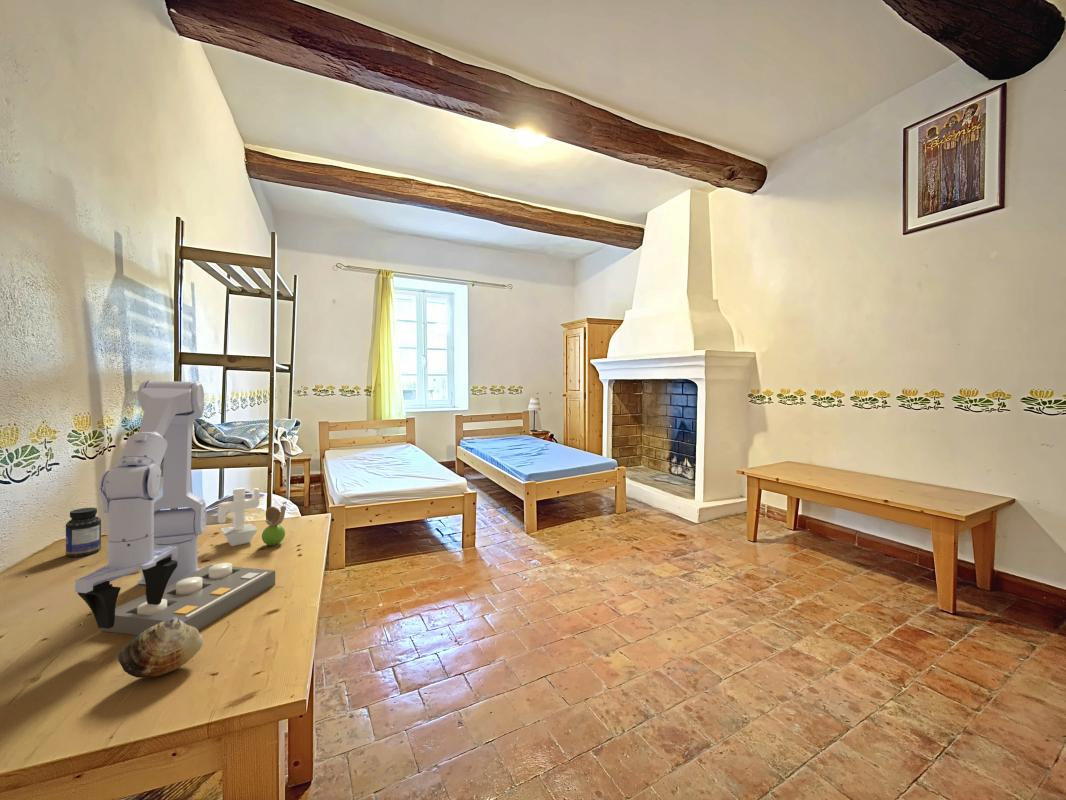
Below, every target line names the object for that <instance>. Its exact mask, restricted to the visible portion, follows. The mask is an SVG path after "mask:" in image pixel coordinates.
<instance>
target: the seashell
mask: <svg viewBox="0 0 1066 800" xmlns="http://www.w3.org/2000/svg"><path fill="white" fill-rule="evenodd" d="M199 631H200V630H197V629H196V628H195V627H192V626H189V625H187V624H185V623H184V622H182V621H181V620H180V619H178V618H177V617H173V618H169V619H167V620H165V621H163V622H161V623H158V624H156V625H154V626H152V627H150V628H148V629H147V630H145V631H144V632H142V633H141V634H139V635H136V637H135V638H134V639H133V640H132V641H131V642H129V643H128V644H127V645H126V646H125V647H124V648H122V649H121V650H120V651H119V653H118V655H117V660H118V662H119V664H120V666H121V668H122V670H123V671H124V672H125V673H126V674H127V675H129V676H131V677H133V678H139V679H140V678H155V677H161V676H164V675H167V674H169V673H171V672H174V671H175V670H177V669H178V668H181V667H182V666H184V665H185V664H187V663H188V662H189V661H190V660H191V659H192V658H194V657H195V656H196V655H197V653H199V651H200V650H201V648H202V647H203V646H204V638H203V636H202V634H201V633H200V632H199Z"/></svg>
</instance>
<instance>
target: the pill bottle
mask: <svg viewBox="0 0 1066 800" xmlns="http://www.w3.org/2000/svg"><path fill="white" fill-rule="evenodd" d="M97 514H98V508H97V507H84V508H77V509H73V510H71V511H69V518H71V519H70V520H68V521H67V522H66V524H65V556H66V557H68V558H78V557H85V556H90V555H94V554H95V553H98V552H99V551H100V550H101V549H102V519H101V518H100V517H99V516H97Z"/></svg>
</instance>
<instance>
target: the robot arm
mask: <svg viewBox="0 0 1066 800" xmlns="http://www.w3.org/2000/svg"><path fill="white" fill-rule="evenodd" d="M137 400H138V404H139V406H140V408H141V410H142V412H143V415H142V419H141V422H140V426H139V430H138V432H137V433H134V434H132V435H130V436H129V437H128V438H127V439H126V442H125V444H124V445H123V449H122V450H121V452H120V455H119V458H118V459H117V462H116V464H115V466H114V467H112V468H111V469H110V470H106V471H105V472H104V473H103V474H102V477H101V479H100V483H99V496H100V499H101V501H102V504H103V509H102V511H103V512H104V514H107V564H106V565H104V566H102V567H100V568H98V569H96V570H94V571H92V572H90V573H88V574H86V575H84V576H82V577H80V578H77V579H75V580H74V585H75V586H74V589H75V591H74V593H77V595H78V596H79V597H80V598H81V599H82V600H83V601H84V602H85V603H86V605H87V606H88V607H89V609H90V610H91V612H92V615H93V617H94V619H95V621H96V624H97V626H98V629H102V628H105V629H109V628H111V627H113V626H114V622H115V608H116V607H117V606H116V605H117V600H118V596H119V593H120V592H121V587H120V586H113V584H112V583H111V582H113V581H117V579H121V578H124V577H126V576H128V575H130V574H133V573H136V572H139V571H141V579H140V580H138V581H137V582H136V583H137V584H139V585H145V594H146V599H147V604H154V605H158V604H160V603H161V600H162V597H163V594H164V591H165V588H166V585H167V584H169V583H171V582H174V581H176V580H178V579H180V578H182V577H185V576H187V575H189V574H191V573H194V572H196V571H198V570H200V569H201V568H198V536H200V535H202V534H203V533H204V532H205V531H206V528H207V522H208V513H207V509H206V505H207V504H206V501H205V500H204V499H203V498H202V497H200V496H198V495H196V494H194V493H193V492H191V480H192V478H191V476H192V443H193V426H194V423H195V420H199V419H201V418H203V414H204V411H205V409H204V407H205V392H204V387H203V385H202V384H201V383H200V381H198V380H197V381H196V380H195V381H172V380H171V381H170V380H167V381H166V380H150V379H149V380H148V379H145V380H143V382H141V383H140V385H139V386H138V391H137ZM162 462H163V473H162V468H161V464H162ZM161 475H162V476H163V477H162V476H161ZM161 477H162V496H161V497H158V499H156V500H155V498H156V497H157V496H158V493H159V490H160V488H161V487H160V486H161Z"/></svg>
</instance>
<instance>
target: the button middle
mask: <svg viewBox="0 0 1066 800" xmlns="http://www.w3.org/2000/svg"><path fill="white" fill-rule="evenodd" d="M201 589H202V578H201V577H190V578H186V579H183V580H181V581H179V582H177V583H176V595H183V596H190V595H192V594H194V593H196V592H197V591H199V590H201Z"/></svg>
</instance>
